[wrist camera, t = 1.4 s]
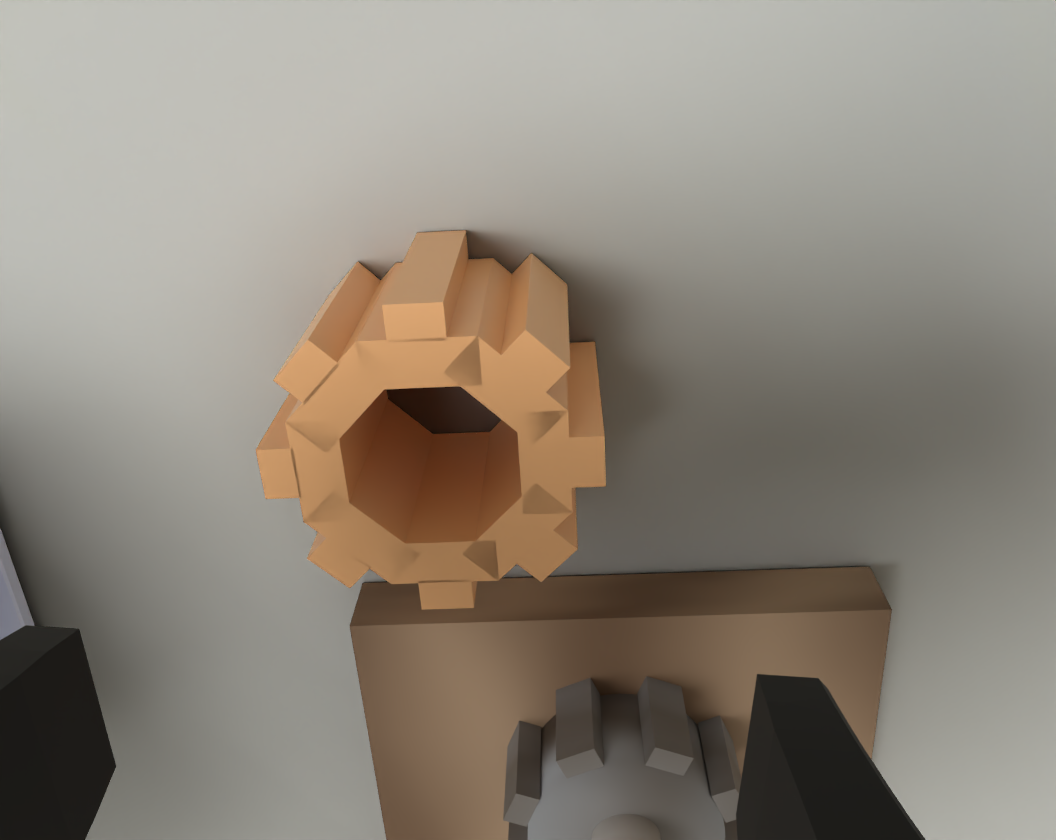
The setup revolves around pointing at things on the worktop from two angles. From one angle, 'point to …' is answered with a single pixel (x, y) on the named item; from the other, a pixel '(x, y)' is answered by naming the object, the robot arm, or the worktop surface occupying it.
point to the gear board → (599, 696)
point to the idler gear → (438, 459)
